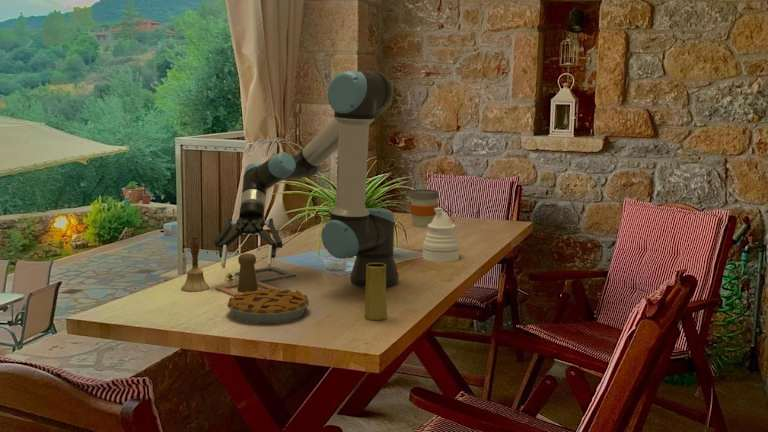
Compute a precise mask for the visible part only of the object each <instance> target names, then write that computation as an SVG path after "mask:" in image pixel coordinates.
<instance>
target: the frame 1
mask: <svg viewBox="0 0 768 432" xmlns="http://www.w3.org/2000/svg"><path fill="white" fill-rule="evenodd" d="M257 286H258V288H261V289H264V290H269V289H271V288H272V289H277V290H281V288H279V287H276V286H273V285H271V284H268V283H266V282H259V281H257ZM234 288H238V282H236V283H231V284H225V285H219V286H214V289H215V290H216V291H219V292H221V293H223V294H225V295H229V296H231V297H232V298H233V297H234V295H235V294H241V292H240V293H239V292H238V291H235V290H231V289H234Z"/></svg>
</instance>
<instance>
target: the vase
mask: <svg viewBox="0 0 768 432" xmlns="http://www.w3.org/2000/svg"><path fill="white" fill-rule="evenodd" d="M364 300H365V301H364V319H366V320H370V321H382V320H385V319H387V318H388V313H387V312H388V311H387V303H388V301H387V287H386V264H383V263H369V264H367V265H366V287H365V299H364Z"/></svg>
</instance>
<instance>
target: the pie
mask: <svg viewBox="0 0 768 432" xmlns="http://www.w3.org/2000/svg"><path fill="white" fill-rule="evenodd" d="M227 302H228V303H227V305H226V306H227V308H229V310H230V311H231V313H232V316H233V315H234V316H233V317H234V318H235V319H236V320H237V319H239V320H238V321H241V320H243V321H242V322H245V321H248V322H247V323H252V322H258V323H257V324H277V323H276V322H281V323H286V322H285V321H288V322H291V321H294V320H296V318H297V319H298V318H300V317H301V316H303V315H304V312H305V310H306V308H307V307H308V306H309V304H310V299H308V296H307V294H303V293H302V292H300V291H299V290H296V291H292V290H291V289H284V290H282V289H280V290H277V289H272V288H271V289H269V290H267V289H263V288H260V289H259V288H258V290H256V291H244V292H242V293H240V294H235V295H234V297H233V296H231V297H230V298H229V299H228V301H227ZM293 319H294V320H293ZM290 320H291V321H290Z"/></svg>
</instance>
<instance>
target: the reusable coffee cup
mask: <svg viewBox="0 0 768 432" xmlns="http://www.w3.org/2000/svg"><path fill="white" fill-rule="evenodd" d="M409 199H410V204H409V208H410V214H411V216H412V226H413V227H416V228H428V227H427V225H428V224H430V223H431V222H432V220H433V219H434V217H435V216H436V214H437V213H436V212H435V210H434V208H439V207H438V205H439V204H438V199H440V198H439V191H438V190H435V189H423V188H422V189H421V188H419V189H411V190H410V191H409Z"/></svg>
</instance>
